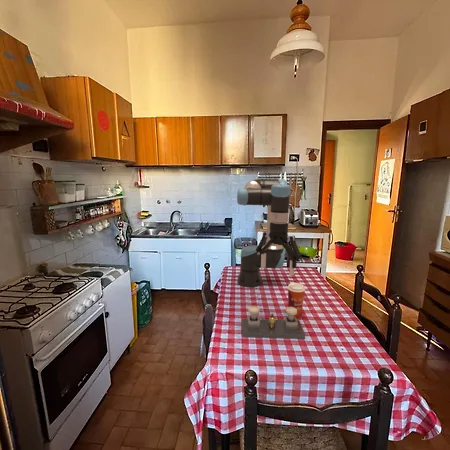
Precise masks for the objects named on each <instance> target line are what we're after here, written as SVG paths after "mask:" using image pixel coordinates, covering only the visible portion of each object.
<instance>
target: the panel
mask: <svg viewBox="0 0 450 450" xmlns="http://www.w3.org/2000/svg"><path fill="white" fill-rule="evenodd" d="M283 318H284V319H275V327H274V328H271V327H269V318H266V319H265V318H260V315H257V317H256V320H252V319H251V315H247V318H241V336H242V337H243V338H267V339H268V338H269V339H271V338H272V339H273V338H274V339H301V340H305V339H306V333H305V330H304V328H303V326H302V323H301V321H300V320H299V319H297V318H296V317H294V321H289V320H288V316H284V317H283Z"/></svg>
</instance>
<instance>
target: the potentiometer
mask: <svg viewBox="0 0 450 450" xmlns="http://www.w3.org/2000/svg"><path fill="white" fill-rule="evenodd" d="M270 314H271V315H269V317H268V319H269V327H271V328H274V327H275V320H276V317H275V316H274V313H270Z"/></svg>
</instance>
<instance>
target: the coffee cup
mask: <svg viewBox="0 0 450 450" xmlns="http://www.w3.org/2000/svg"><path fill="white" fill-rule="evenodd" d="M287 291H288V292H287V299H288V302H287V303H288V304H287V307H294V308H296V309H297V314H296V315H294V317H296V319H299V318H301V316H302V311H303V305H304V304H303V303H304V298H305V297H304V295H305V291H306V288H305V285H303V284H302V283H299V282H291V283H289V284H288V286H287Z"/></svg>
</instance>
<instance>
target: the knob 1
mask: <svg viewBox="0 0 450 450" xmlns="http://www.w3.org/2000/svg"><path fill="white" fill-rule="evenodd" d="M248 313H249V314H250V316H251V319H252V320H256V317H257V316H258V314H260V307H259V306H257V305H249V306H248Z"/></svg>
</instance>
